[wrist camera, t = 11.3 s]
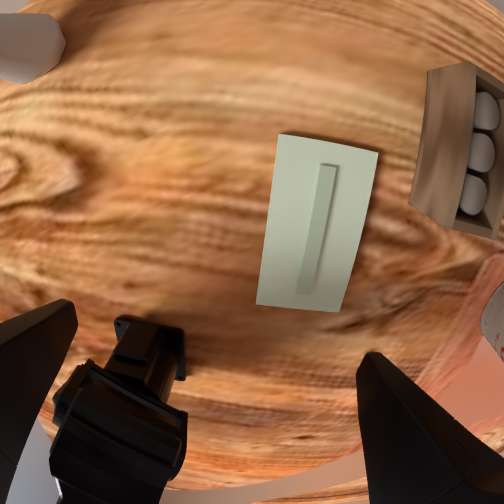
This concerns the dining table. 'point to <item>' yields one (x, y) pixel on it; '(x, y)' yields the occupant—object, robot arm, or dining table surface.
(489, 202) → the box
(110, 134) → the dining table surface
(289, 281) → the lid
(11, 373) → the robot arm
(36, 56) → the salt shaker
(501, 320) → the thermos bottle
